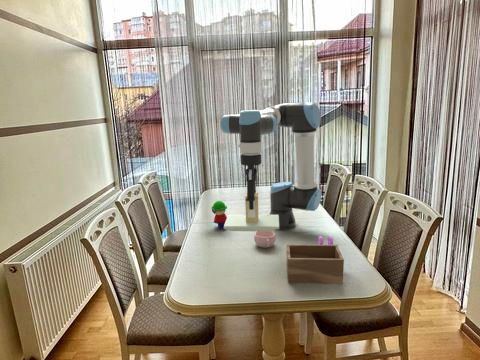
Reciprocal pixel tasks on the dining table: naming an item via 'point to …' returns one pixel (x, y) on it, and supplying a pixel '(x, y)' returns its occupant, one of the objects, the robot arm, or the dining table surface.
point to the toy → (219, 213)
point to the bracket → (320, 240)
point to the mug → (264, 238)
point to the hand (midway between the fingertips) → (252, 214)
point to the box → (314, 264)
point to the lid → (252, 220)
